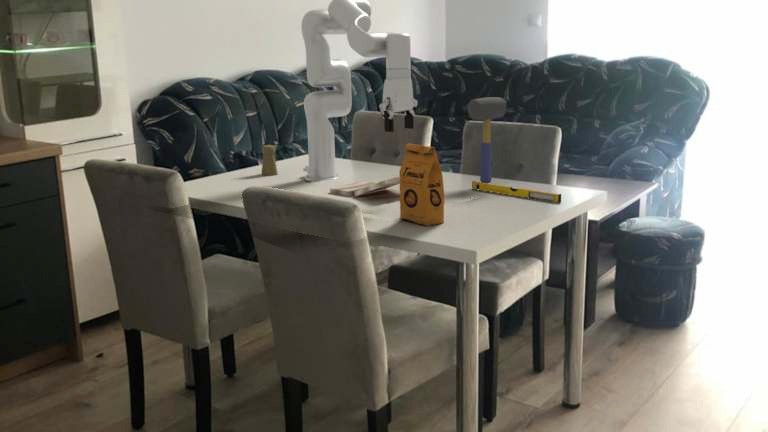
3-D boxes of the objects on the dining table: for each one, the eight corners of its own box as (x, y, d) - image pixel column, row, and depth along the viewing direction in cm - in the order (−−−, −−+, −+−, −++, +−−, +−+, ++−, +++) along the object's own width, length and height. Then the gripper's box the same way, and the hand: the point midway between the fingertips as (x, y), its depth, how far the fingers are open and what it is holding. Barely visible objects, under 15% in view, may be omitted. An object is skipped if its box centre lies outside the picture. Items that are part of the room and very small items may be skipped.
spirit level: (472, 190, 278) (472, 181, 277) (474, 189, 278) (474, 180, 278) (558, 204, 255) (559, 194, 255) (561, 203, 256) (561, 193, 256)
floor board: (328, 195, 270) (327, 188, 269) (362, 187, 282) (362, 180, 282) (388, 206, 253) (388, 198, 253) (422, 197, 266) (422, 189, 265)
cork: (280, 173, 310) (279, 144, 307) (270, 176, 305) (269, 146, 303) (268, 172, 313) (267, 143, 311) (258, 174, 308) (256, 145, 306)
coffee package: (423, 228, 227) (423, 149, 221) (395, 220, 236) (394, 144, 231) (450, 222, 233) (450, 145, 227) (421, 215, 242) (421, 140, 237)
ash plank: (355, 196, 263) (353, 191, 263) (385, 188, 274) (384, 184, 274) (385, 184, 254) (384, 180, 254) (416, 177, 265) (414, 173, 265)
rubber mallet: (478, 188, 279) (479, 99, 272) (464, 184, 286) (465, 97, 279) (506, 183, 286) (508, 97, 279) (492, 180, 292) (494, 95, 285)
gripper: (406, 72, 261) (407, 126, 265) (370, 75, 248) (371, 132, 252) (425, 73, 256) (425, 128, 260) (389, 76, 243) (390, 133, 247)
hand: (399, 130), depth 256 cm, fingers open, 9 cm apart
